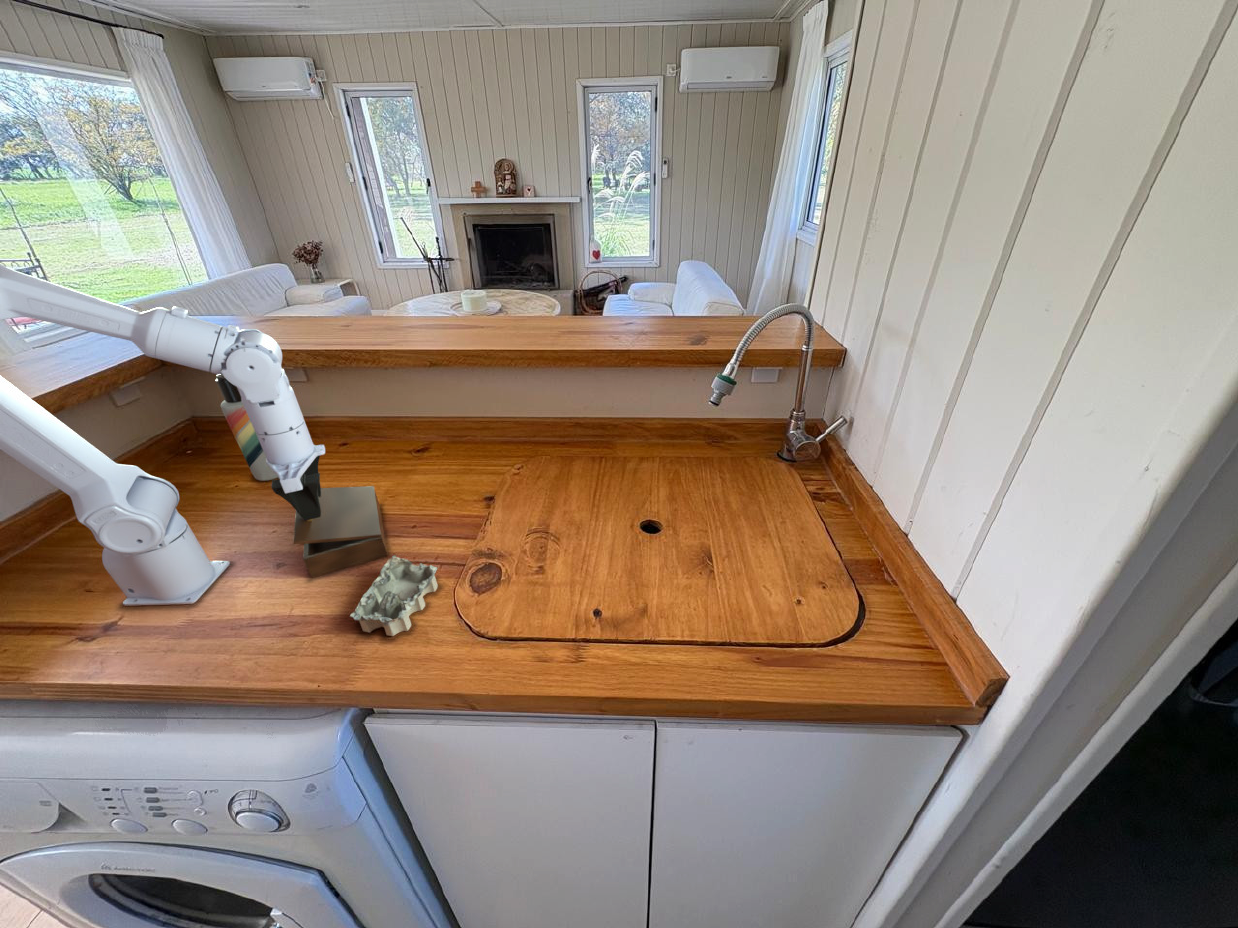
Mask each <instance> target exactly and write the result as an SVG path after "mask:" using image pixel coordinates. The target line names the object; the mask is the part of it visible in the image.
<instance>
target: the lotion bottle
mask: <svg viewBox="0 0 1238 928" xmlns="http://www.w3.org/2000/svg"><path fill="white" fill-rule="evenodd" d="M215 382H216V385H217V387H218V389H219V391H220V393H221V395H222V397H223V399H224V400H223V401H222V402H221V403H220V408H221V411H222V413H223V415H224V417H225V420H226V422H227V424H228V426H229V428H230V430H231V432H232V434H233V436H234V439H235V440H236V442H237V444H238V447H239V449H240V451H241V453H242V455H243V458H244V459H245V462H246V464H247V466H248V468H249V470H250V472H251V474H252V476H253V478H254V479H255V480H257V481H265V482H266V481H271V480H276V479H279V478H278V476H277V475H276V474H275V473H274V472H273V471H272V470H271V469H270V467H269V466H268V464H267V462H266V456H265V453H264V451H263V449H262V446H261V444H260V442H259V440H258V437H257V435H256V432H255V430H254V428H253V426H252V423H251V421H250V419H249V416H248V414H247V412H246V410H245V407H244V405H243V403H242V400H241V398H242V397H241V395H240V393H239V391H238V388H237V387H236V386H235V385H233V384H231V383H230V382H229V381H228V380H227V379H226V378H225V377H224V376H223V374H216V379H215Z"/></svg>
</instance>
